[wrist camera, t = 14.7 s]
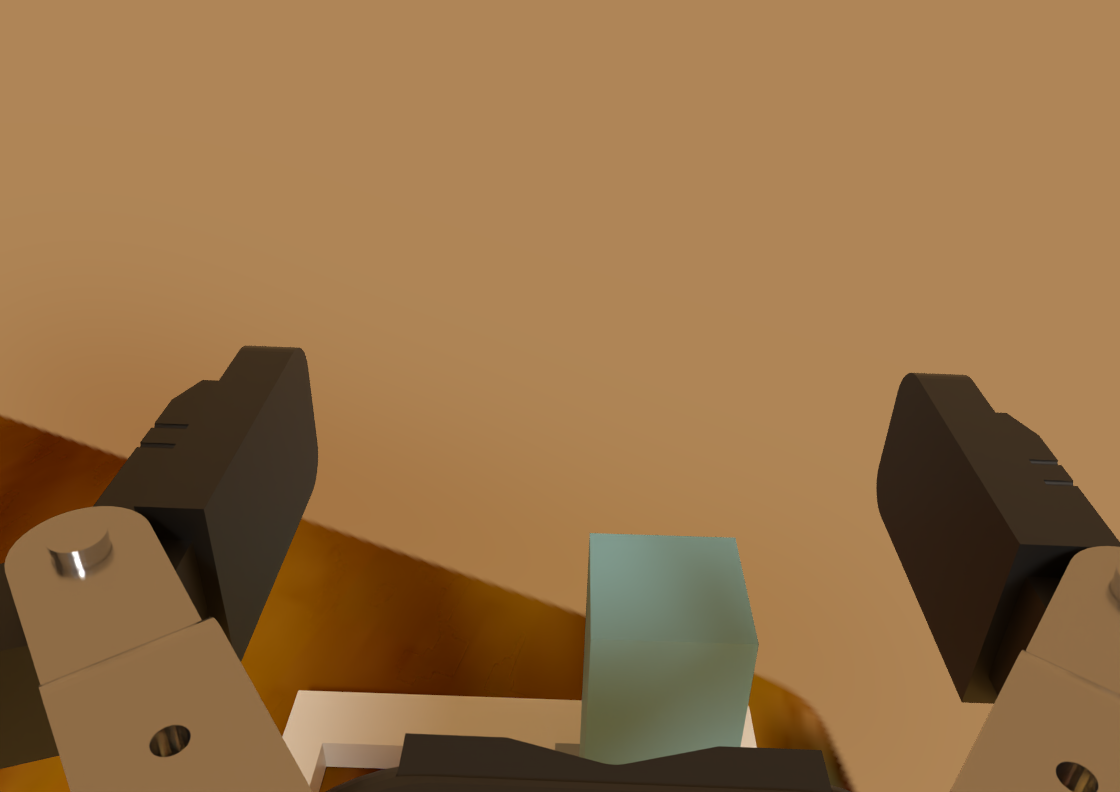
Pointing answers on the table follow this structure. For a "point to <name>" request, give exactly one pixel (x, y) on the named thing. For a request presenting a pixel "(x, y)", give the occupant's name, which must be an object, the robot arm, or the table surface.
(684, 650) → the teal block
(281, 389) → the robot arm
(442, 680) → the table surface
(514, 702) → the puzzle board
